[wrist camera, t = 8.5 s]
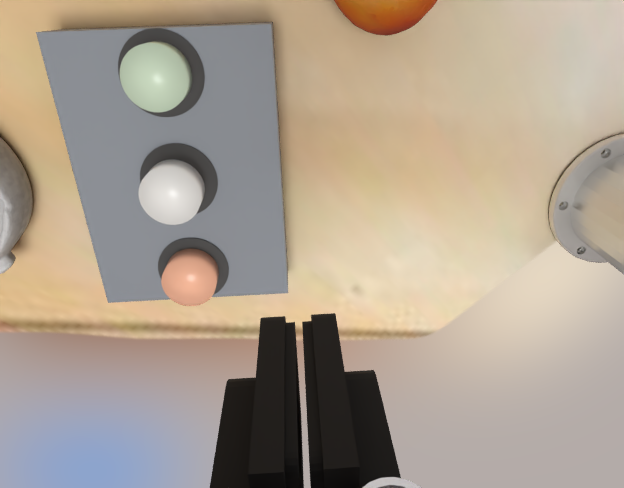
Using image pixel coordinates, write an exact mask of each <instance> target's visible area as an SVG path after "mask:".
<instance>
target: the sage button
mask: <svg viewBox="0 0 624 488" xmlns="http://www.w3.org/2000/svg"><path fill="white" fill-rule="evenodd" d="M120 81H121V84H122V87H123V89H124V91H125V93H126V95H127V96H128V97H129V99H130V100H131V101H132V102H133V103H134V104H136V105H137V106H139V107H140V108H142V109H144V110H147V111H150V112H165V111H169V110H171V109H173V108H175V107H176V106H177V105H178V104H179V103H180V102H182V101H183V100H184V99H185V97H186V96H187V95H188V93H189V91H190V89H191V85H192V72H191V68H190V65H189V63H188V61H187V59H186V57H185V56H184V55H183V54H182V53H181V52H180V51H179V50H178V49H177V48H176V47H174V46H172V45H170V44H168V43H165V42H160V41H153V42H148V43H144V44H140V45H138V46H135V47H134V48H132V49H131V50H129V51H128V52H127V54H126V55H125V56H124V58H123V60H122V62H121V66H120Z"/></svg>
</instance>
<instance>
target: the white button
mask: <svg viewBox="0 0 624 488" xmlns="http://www.w3.org/2000/svg"><path fill="white" fill-rule="evenodd" d="M204 193H205V186H204V182H203V179H202V177H201V175H200V174H199V172H198V171H197V170H196V169H195V168H194V167H192V166H191V165H190V164H188V163H186V162H183V161H180V160H164V161H161V162H159V163H157V164H156V165H154V166H153V167H152V168H151V169H150V171H149V172H148V173H147V174H146V176H145V177H144V178H143V180H142V181H141V183H140V186H139V200H140V203H141V206H142V207H143V209H144V210H145V212H146V213H147V214H148V215H149V216H150V217H151V218H153V219H154V220H156V221H158V222H161V223H164V224H169V225H177V224H182V223H185V222H187V221H189V220H190V219H192V218H193V217H194V216H195V214H196V213H197V211H198V210H199V207H200V205H201V202H202V200H203V197H204Z"/></svg>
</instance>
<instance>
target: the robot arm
mask: <svg viewBox="0 0 624 488" xmlns="http://www.w3.org/2000/svg"><path fill="white" fill-rule="evenodd" d="M549 221H550V227H551V230H552V232H553V235H554V237H555V239H556V240H557V241H558V242H559V244H560V245H561V246H562V247H563V248H564V249H566V250H567V251H568V252H569V253H570V254H572V255H573V256H575V257H577V258H580V259H583V260H586V261H590V262H598V263H599V262H600V263H601V262H609V263H610V264H611V265H613V266H614V267H615V268H616V269H618V270H619V271H620V272H622V273H623V274H624V134H620V135H616V136H613V137H610V138H608V139H605V140H603V141H600V142H599V143H597V144H595V145H594V146H592V147H590V148H589V149H587V150H586V151H585V152H584V153H582V154H581V155H580V156H579V157H577V158H576V159H575V160H574V161H573V163H572V164H571V165H570V166H569V167H568V168H567V169H566V170H565V172H564V173H563V175H562V176H561V178H560V179H559V181H558V183H557V185H556V187H555V189H554V192H553V194H552V198H551V202H550V206H549ZM311 319H312V321H308V322H302V324H303V344H304V363H305V384H306V402H307V403H306V404H307V424H308V442H309V443H308V444H309V463H310V481H311V488H422V487H421V486H419V485H417V484H415V483H413V482H411V481H409V480H406V479H401V477H400V473H399V469H398V464H397V461H396V456H395V452H394V448H393V444H392V440H391V435H390V431H389V427H388V423H387V419H386V415H385V411H384V406H383V402H382V398H381V394H380V390H379V386H378V382H377V378H376V374H375V372H374V370H371V371H353V372H344V366H343V359H342V354H341V346H340V340H339V334H338V327H337V321H336V315H335V313H334V314H318V315H311ZM301 430H302V428H301V408H300V393H299V378H298V363H297V348H296V333H295V322H292V323H286V320H285V316H284V317H267V318H261V322H260V334H259V347H258V358H257V371H256V378H242V379H229V380H228V381H227V384H226V389H225V395H224V402H223V408H222V414H221V420H220V427H219V433H218V440H217V445H216V452H215V458H214V464H213V471H212V477H211V483H210V488H304V484H303V457H302V431H301Z"/></svg>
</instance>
